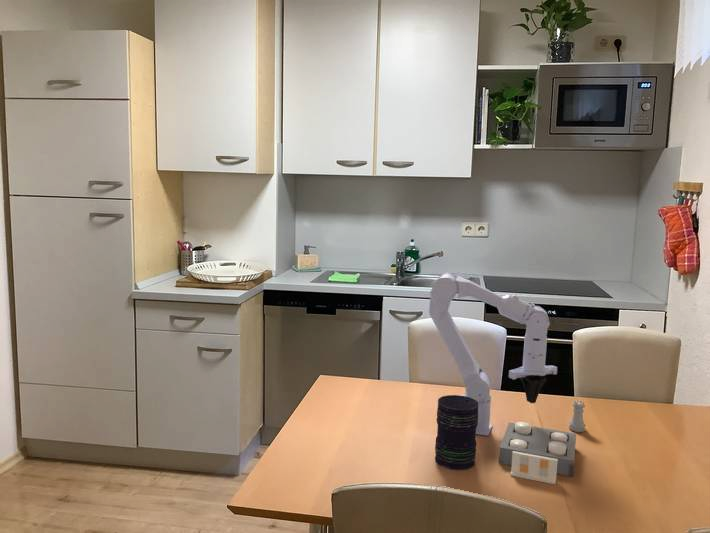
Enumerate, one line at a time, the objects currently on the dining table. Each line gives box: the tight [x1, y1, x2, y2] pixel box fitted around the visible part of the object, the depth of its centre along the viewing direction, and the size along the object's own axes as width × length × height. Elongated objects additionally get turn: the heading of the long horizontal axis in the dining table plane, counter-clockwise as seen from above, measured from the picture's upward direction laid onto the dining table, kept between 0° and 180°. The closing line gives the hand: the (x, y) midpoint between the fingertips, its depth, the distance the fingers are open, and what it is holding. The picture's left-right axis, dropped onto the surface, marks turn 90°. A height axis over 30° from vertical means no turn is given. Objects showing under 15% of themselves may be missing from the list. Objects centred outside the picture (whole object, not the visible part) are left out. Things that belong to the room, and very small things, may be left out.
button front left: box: [509, 439, 528, 449], centre depth 151 cm, size 4×4×3 cm
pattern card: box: [509, 451, 558, 485], centre depth 142 cm, size 10×3×5 cm, turn 69°
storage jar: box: [434, 394, 478, 471], centre depth 148 cm, size 10×10×15 cm
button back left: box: [515, 421, 532, 435], centre depth 159 cm, size 4×4×3 cm
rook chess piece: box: [568, 399, 586, 433], centre depth 170 cm, size 4×4×8 cm
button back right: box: [551, 432, 568, 441], centre depth 156 cm, size 4×4×3 cm
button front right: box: [547, 441, 567, 456], centre depth 147 cm, size 4×4×3 cm
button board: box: [498, 422, 577, 478], centre depth 153 cm, size 17×17×4 cm
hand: (531, 401), depth 165 cm, fingers closed
